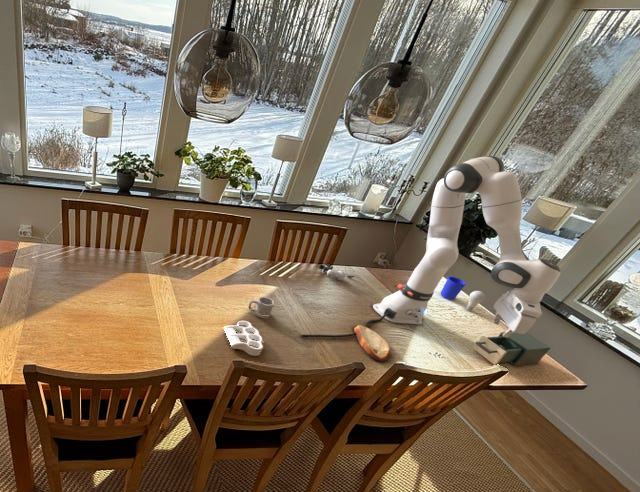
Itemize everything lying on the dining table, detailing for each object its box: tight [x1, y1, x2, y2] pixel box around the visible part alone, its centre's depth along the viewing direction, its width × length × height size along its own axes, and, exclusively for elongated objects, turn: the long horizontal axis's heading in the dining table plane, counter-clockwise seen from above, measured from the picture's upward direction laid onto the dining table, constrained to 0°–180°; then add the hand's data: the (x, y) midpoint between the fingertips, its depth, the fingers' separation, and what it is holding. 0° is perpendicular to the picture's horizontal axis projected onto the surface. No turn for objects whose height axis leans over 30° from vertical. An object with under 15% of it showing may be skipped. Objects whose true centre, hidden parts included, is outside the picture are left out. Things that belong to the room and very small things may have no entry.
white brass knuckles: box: [222, 320, 266, 357], centre depth 155 cm, size 3×18×15 cm
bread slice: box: [354, 324, 391, 362], centre depth 163 cm, size 18×18×4 cm
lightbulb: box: [465, 290, 486, 311], centre depth 198 cm, size 6×6×11 cm
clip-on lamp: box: [318, 263, 356, 281], centre depth 212 cm, size 12×6×18 cm
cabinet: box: [498, 331, 551, 366], centre depth 169 cm, size 14×12×9 cm
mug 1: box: [247, 296, 275, 319], centre depth 172 cm, size 10×7×7 cm
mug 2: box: [440, 275, 467, 300], centre depth 209 cm, size 8×12×10 cm
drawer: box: [473, 335, 524, 366], centre depth 165 cm, size 17×10×7 cm, turn 104°
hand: (499, 329), depth 158 cm, fingers open, 8 cm apart
